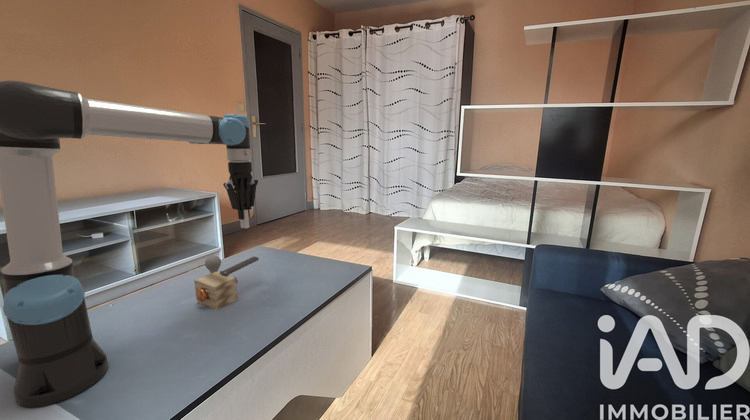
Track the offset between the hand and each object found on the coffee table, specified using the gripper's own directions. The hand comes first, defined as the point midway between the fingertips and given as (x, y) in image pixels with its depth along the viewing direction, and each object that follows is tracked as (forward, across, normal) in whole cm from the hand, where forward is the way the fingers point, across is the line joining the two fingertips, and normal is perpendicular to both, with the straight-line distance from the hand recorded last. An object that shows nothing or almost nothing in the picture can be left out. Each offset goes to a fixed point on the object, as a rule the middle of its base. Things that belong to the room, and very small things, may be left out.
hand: (245, 227), depth 115 cm
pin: (+20, -13, 0) cm, 24 cm away
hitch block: (+22, -14, 0) cm, 26 cm away
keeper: (+14, -3, 0) cm, 14 cm away
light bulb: (+23, -4, +15) cm, 27 cm away
